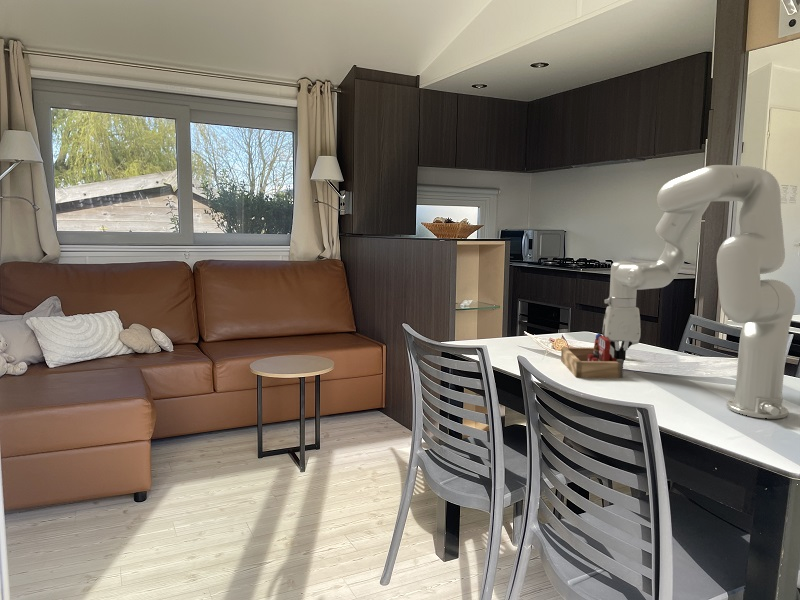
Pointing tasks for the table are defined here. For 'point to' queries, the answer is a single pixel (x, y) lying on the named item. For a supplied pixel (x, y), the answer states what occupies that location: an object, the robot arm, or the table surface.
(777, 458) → the table surface
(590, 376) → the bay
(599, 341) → the toy fire truck
